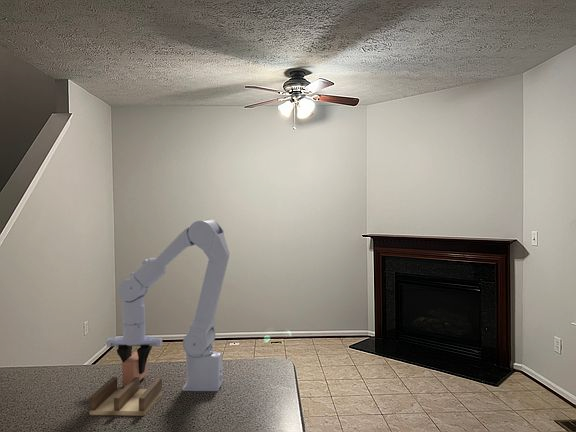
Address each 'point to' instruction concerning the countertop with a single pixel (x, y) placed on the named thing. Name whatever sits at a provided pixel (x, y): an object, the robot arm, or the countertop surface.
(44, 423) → the countertop surface
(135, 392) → the book rack
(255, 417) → the countertop surface
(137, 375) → the book
